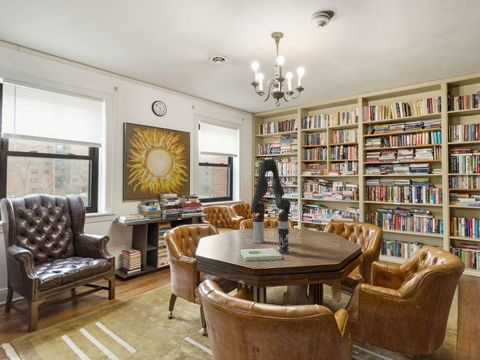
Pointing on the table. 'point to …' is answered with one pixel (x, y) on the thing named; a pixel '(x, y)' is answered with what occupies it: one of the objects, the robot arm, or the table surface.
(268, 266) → the table surface
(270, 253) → the chassis board
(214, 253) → the table surface
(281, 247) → the servo block
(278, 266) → the table surface
